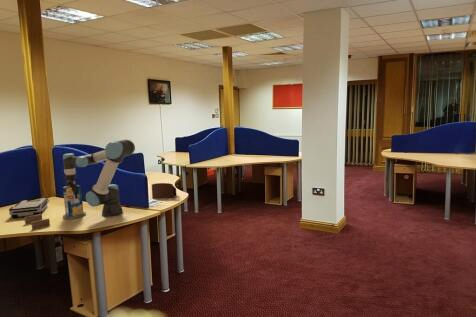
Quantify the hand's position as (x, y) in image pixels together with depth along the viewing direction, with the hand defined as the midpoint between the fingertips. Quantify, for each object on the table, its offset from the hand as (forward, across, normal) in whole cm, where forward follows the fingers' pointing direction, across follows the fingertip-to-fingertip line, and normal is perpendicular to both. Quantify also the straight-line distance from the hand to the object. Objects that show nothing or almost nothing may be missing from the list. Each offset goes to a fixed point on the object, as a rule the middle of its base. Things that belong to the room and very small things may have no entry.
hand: (73, 201), depth 268 cm
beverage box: (+10, 0, 0) cm, 10 cm away
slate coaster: (+11, 0, 0) cm, 11 cm away
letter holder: (+12, +5, +78) cm, 79 cm away
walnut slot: (+11, +1, -26) cm, 28 cm away
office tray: (+12, -40, -20) cm, 46 cm away
